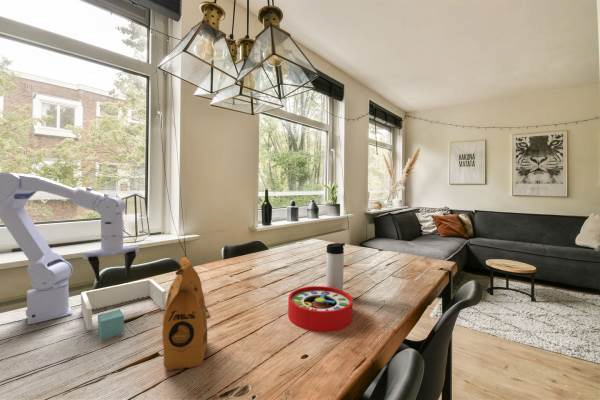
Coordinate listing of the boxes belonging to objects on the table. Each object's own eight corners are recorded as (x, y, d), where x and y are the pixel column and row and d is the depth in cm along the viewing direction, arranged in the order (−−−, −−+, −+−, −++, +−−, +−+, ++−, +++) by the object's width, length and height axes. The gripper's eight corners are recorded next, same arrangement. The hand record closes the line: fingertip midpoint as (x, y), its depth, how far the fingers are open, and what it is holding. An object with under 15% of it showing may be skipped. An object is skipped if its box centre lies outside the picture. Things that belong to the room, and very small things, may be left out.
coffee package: (155, 376, 57) (154, 272, 56) (167, 343, 69) (166, 257, 68) (205, 368, 59) (205, 268, 58) (208, 337, 71) (208, 255, 70)
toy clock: (278, 305, 78) (299, 283, 97) (278, 325, 79) (299, 299, 98) (348, 316, 72) (356, 290, 91) (347, 338, 72) (355, 307, 91)
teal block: (101, 340, 70) (100, 321, 69) (98, 333, 73) (97, 314, 73) (124, 333, 73) (123, 315, 73) (120, 326, 77) (119, 309, 76)
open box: (87, 330, 74) (87, 309, 74) (81, 311, 86) (81, 292, 85) (165, 309, 88) (165, 290, 87) (151, 294, 99) (151, 278, 99)
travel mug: (343, 301, 95) (344, 245, 94) (324, 299, 97) (325, 244, 96) (344, 295, 101) (345, 241, 101) (326, 293, 103) (327, 241, 102)
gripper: (84, 239, 78) (85, 286, 78) (141, 234, 88) (141, 275, 88) (81, 236, 83) (82, 280, 83) (135, 231, 93) (136, 270, 93)
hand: (112, 277), depth 86 cm, fingers open, 7 cm apart
